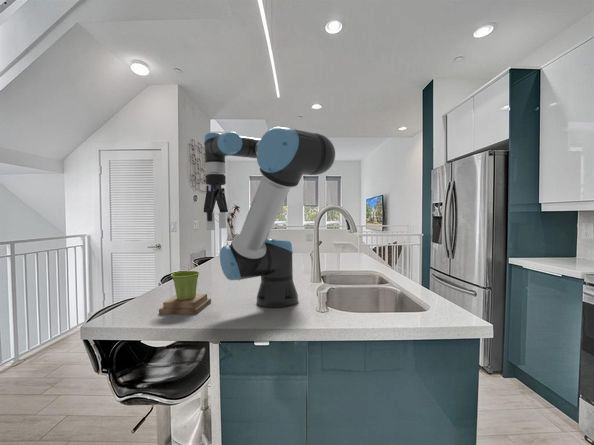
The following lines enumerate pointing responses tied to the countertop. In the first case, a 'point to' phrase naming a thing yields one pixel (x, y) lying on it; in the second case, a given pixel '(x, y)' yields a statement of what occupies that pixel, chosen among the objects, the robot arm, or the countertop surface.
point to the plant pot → (185, 284)
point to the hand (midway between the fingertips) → (217, 229)
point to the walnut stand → (185, 305)
